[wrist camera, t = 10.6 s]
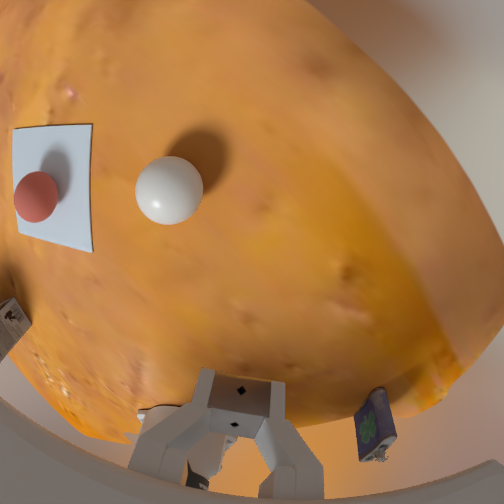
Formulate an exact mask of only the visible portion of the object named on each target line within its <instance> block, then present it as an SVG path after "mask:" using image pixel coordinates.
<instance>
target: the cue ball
mask: <svg viewBox="0 0 504 504" xmlns="http://www.w3.org/2000/svg"><path fill="white" fill-rule="evenodd" d="M135 194H136V200H137V203H138V206H139V208H140V209H141V211H142V212H143V213H144V215H145V216H147V217H148V218H149V219H151V220H152V221H154V222H157V223H159V224H165V225H171V224H177V223H180V222H182V221H184V220H186V219H188V218H189V217H190V216H192V215H193V213H194V212H195V211H196V210H197V208H198V207H199V205H200V203H201V200H202V196H203V183H202V179H201V176H200V174H199V172H198V170H197V169H196V168H195V167H194V166H193V165H192V164H191V163H190V162H188V161H187V160H185V159H183V158H180V157H175V156H166V157H161V158H158V159H156V160H154V161H152V162H151V163H149V164H148V165H147V166H146V167H145V168H144V169H143V170H142V172H141V173H140V175H139V177H138V180H137V183H136V188H135Z"/></svg>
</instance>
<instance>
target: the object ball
mask: <svg viewBox="0 0 504 504" xmlns="http://www.w3.org/2000/svg"><path fill="white" fill-rule="evenodd" d="M57 202H58V188H57V185H56V183H55V181H54V180H53V178H52V177H51V176H50V175H48V174H47V173H44V172H41V171H35V172H31V173H29V174H27V175H26V176H24V177H23V178H22V179H21V180H20V182H19V183H18V185H17V187H16V189H15V193H14V205H15V209H16V211H17V213H18V214H19V216H20V217H21V218H22V219H24V220H25V221H28V222H31V223H37V222H41V221H44V220H45V219H47V218H48V217H49V216H50V215H51V214H52V213H53V211H54V210H55V208H56V205H57Z"/></svg>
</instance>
